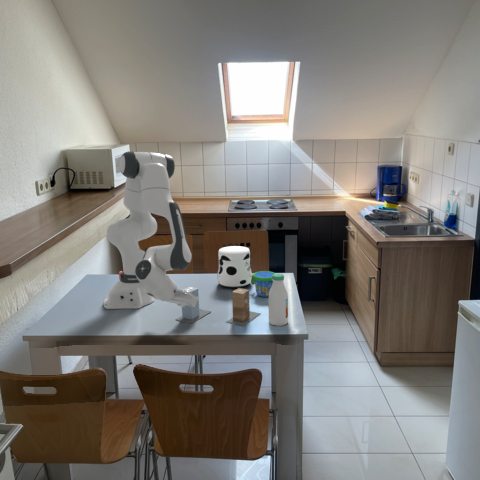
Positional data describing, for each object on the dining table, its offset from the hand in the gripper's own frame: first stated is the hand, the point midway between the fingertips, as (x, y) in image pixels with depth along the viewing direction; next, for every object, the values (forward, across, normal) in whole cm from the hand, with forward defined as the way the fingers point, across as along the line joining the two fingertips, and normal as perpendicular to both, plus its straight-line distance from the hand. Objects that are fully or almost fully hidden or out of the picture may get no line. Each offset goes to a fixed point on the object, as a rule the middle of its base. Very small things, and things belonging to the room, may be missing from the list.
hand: (182, 304), depth 191 cm
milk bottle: (+19, -34, -7) cm, 39 cm away
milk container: (+40, +6, -29) cm, 50 cm away
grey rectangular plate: (+16, -19, -5) cm, 26 cm away
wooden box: (+15, -19, -4) cm, 25 cm away
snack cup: (+36, -14, -25) cm, 46 cm away
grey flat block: (+10, 0, 0) cm, 10 cm away
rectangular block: (+9, 0, +2) cm, 9 cm away
